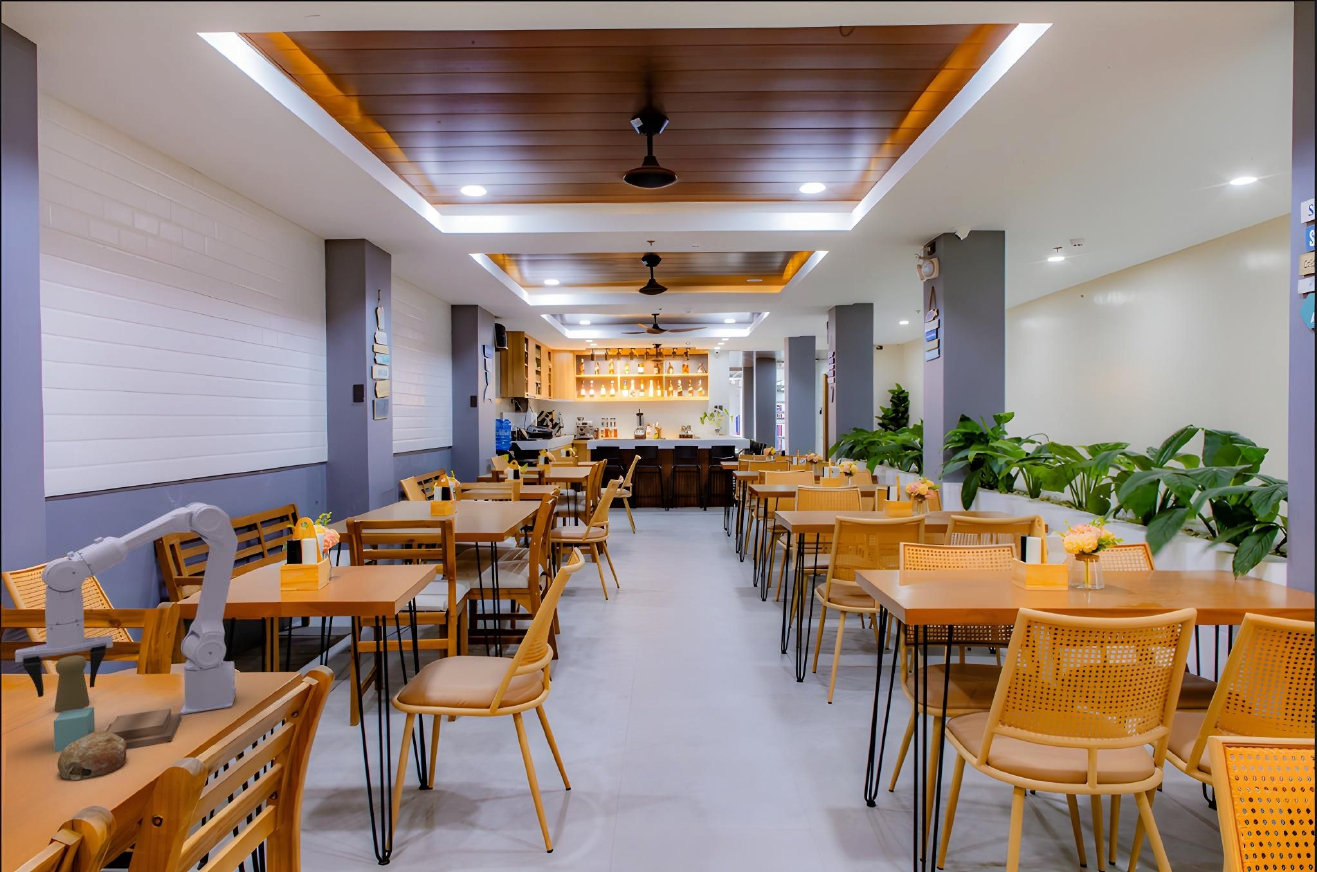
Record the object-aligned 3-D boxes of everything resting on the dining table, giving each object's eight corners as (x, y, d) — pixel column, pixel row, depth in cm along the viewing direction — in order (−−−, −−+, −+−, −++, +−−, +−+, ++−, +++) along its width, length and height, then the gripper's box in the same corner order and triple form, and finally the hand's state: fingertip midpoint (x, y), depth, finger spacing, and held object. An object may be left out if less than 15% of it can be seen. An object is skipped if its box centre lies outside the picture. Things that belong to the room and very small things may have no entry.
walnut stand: (181, 718, 150) (180, 704, 150) (170, 741, 140) (170, 726, 139) (110, 729, 145) (110, 714, 145) (94, 754, 134) (93, 738, 134)
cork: (69, 713, 153) (68, 662, 153) (46, 711, 155) (45, 660, 154) (97, 702, 159) (95, 653, 159) (74, 700, 160) (73, 651, 160)
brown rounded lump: (53, 801, 125) (44, 769, 121) (71, 753, 133) (63, 722, 130) (122, 789, 129) (116, 757, 125) (135, 743, 137) (130, 712, 134)
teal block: (94, 736, 142) (94, 706, 142) (87, 747, 138) (86, 716, 137) (62, 741, 140) (62, 711, 140) (54, 752, 135) (53, 721, 135)
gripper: (111, 610, 147) (113, 676, 148) (16, 623, 138) (19, 693, 139) (112, 617, 142) (114, 686, 142) (13, 631, 133) (15, 704, 133)
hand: (66, 690), depth 140 cm, fingers open, 7 cm apart
